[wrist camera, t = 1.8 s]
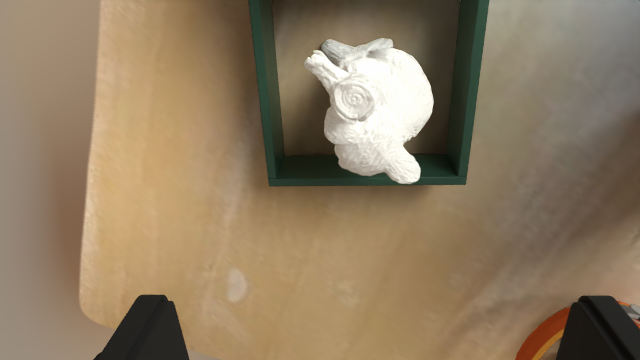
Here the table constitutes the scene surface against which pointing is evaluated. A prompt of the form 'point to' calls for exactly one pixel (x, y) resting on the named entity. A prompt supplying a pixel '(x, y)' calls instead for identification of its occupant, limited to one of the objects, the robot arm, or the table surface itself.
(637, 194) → the table surface
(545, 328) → the headphones
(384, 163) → the white squirrel figurine
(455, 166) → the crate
